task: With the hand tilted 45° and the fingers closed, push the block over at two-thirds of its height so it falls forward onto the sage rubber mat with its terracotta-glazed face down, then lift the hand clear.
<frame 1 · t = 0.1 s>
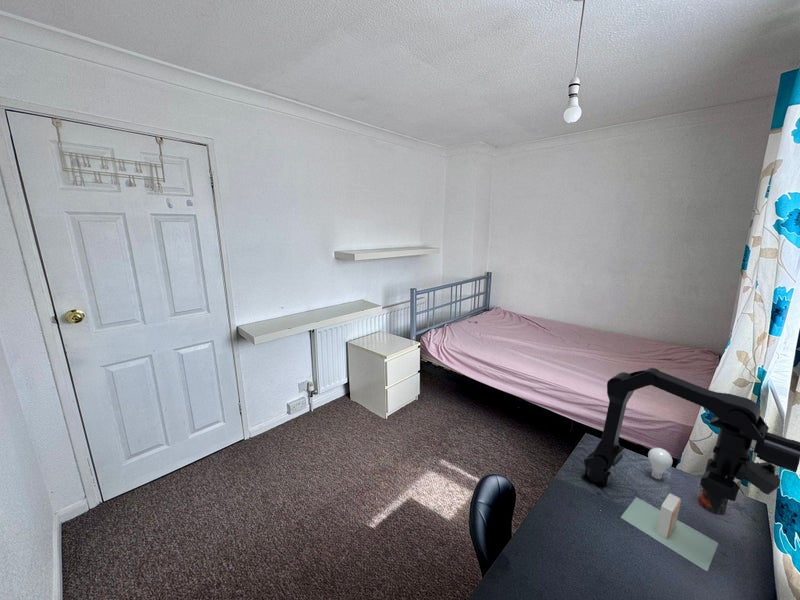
hand: (718, 499, 84), 15 cm above the table, tool pointing down, fingers open, 9 cm apart
lightbulb: (656, 478, 110), on the table
block: (665, 528, 91), resting on mat
deodorant: (710, 508, 98), on the table
mat: (667, 531, 91), on the table
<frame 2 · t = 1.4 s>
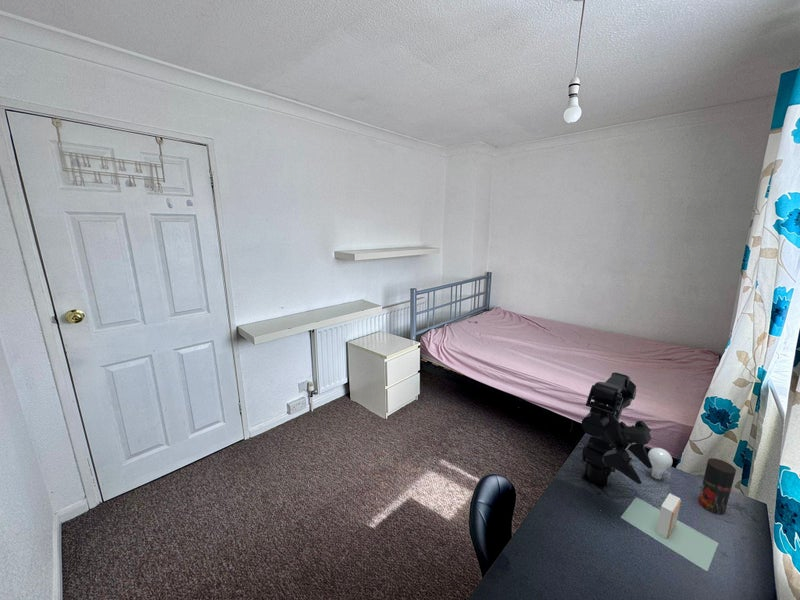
hand: (645, 475, 93), 14 cm above the table, tool tilted 45°, fingers open, 9 cm apart
nothing on the table moved.
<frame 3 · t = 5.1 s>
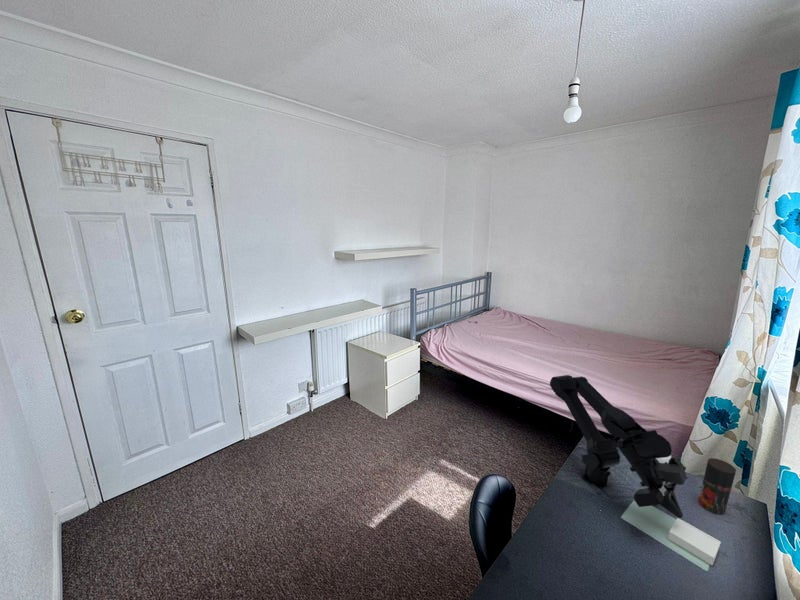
hand: (680, 517, 88), 7 cm above the table, tool tilted 45°, fingers closed
block: (672, 527, 90), point 2 cm above the table, tilted 90°, touching mat
everything else where it was.
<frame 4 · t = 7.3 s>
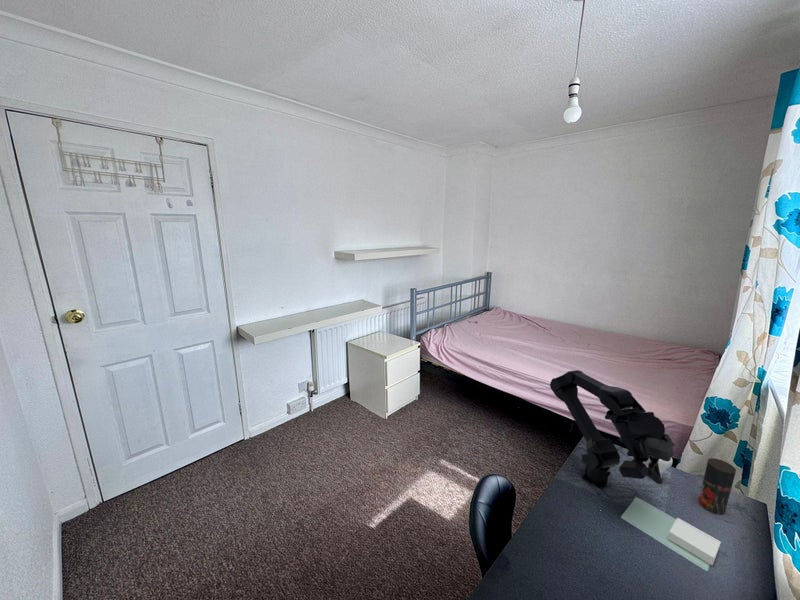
hand: (659, 483, 94), 11 cm above the table, tool tilted 35°, fingers closed
nothing on the table moved.
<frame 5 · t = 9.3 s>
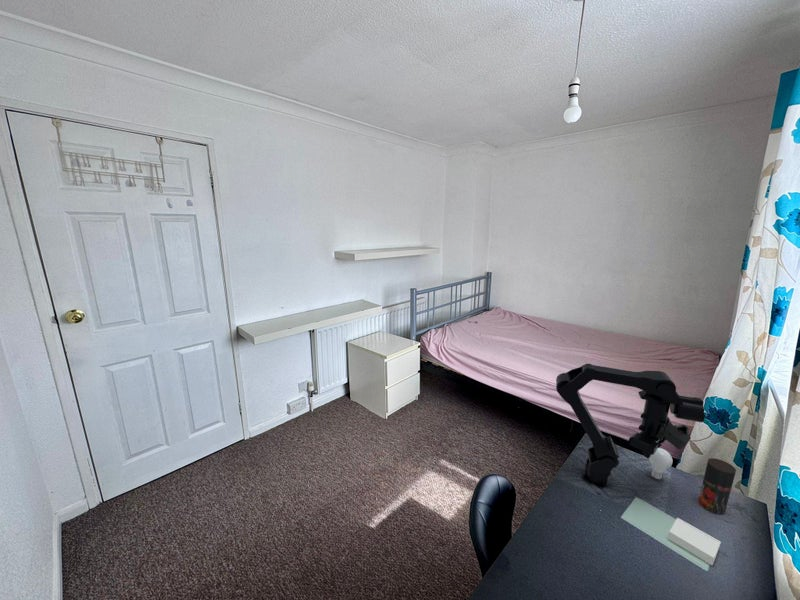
hand: (647, 457, 101), 13 cm above the table, tool pointing down, fingers closed
nothing on the table moved.
at the end: block tilted 90°; block inside the target area (0.6 cm from its centre), point 2.0 cm above the table; block touching mat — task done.
